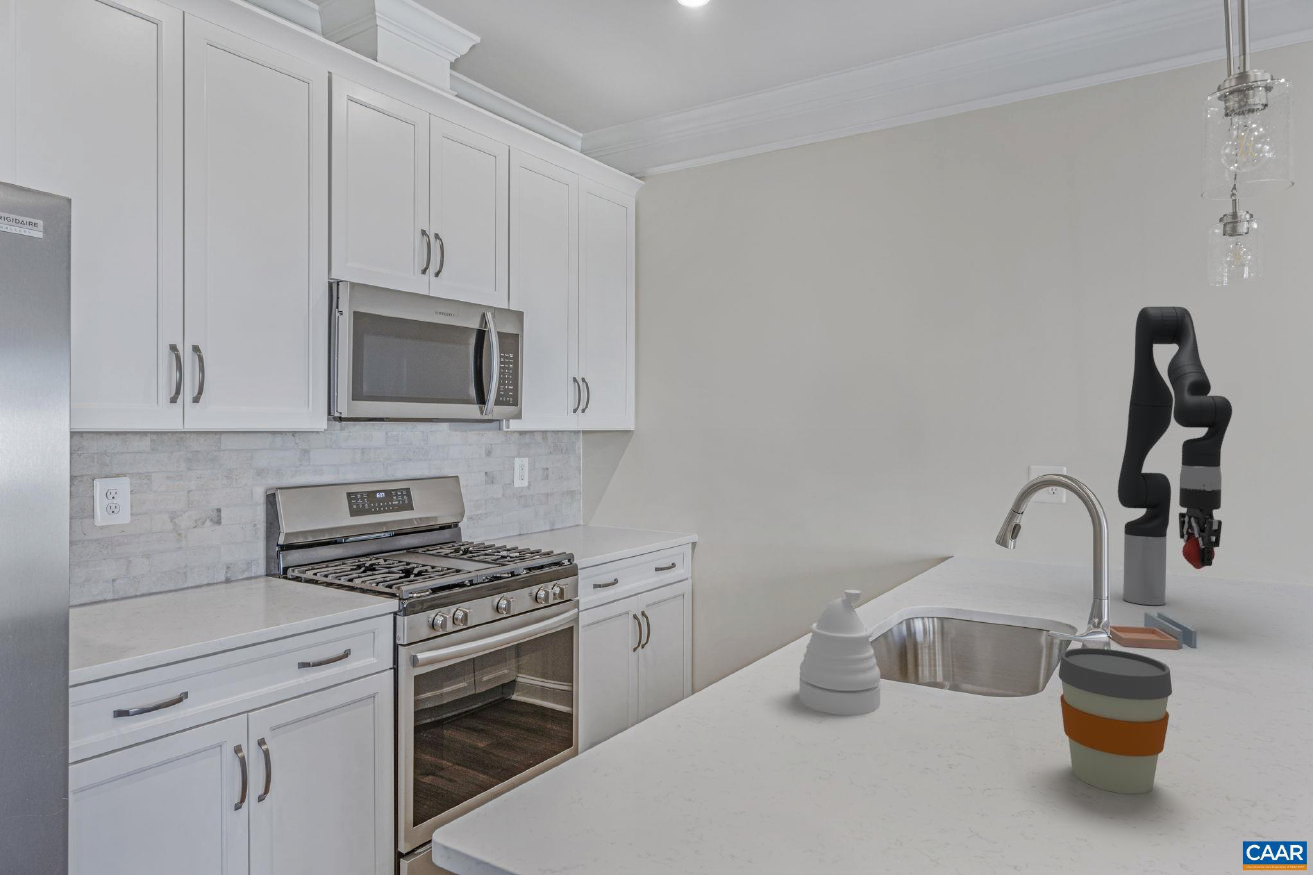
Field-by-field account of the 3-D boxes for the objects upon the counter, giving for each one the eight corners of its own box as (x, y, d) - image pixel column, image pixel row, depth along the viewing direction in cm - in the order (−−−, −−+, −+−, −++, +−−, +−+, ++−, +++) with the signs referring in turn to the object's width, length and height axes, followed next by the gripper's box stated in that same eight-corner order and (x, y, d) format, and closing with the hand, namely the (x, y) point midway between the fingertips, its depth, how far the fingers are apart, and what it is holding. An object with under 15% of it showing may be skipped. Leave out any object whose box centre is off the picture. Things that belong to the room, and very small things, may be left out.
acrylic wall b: (1144, 628, 176) (1144, 612, 176) (1148, 628, 176) (1148, 612, 176) (1178, 648, 160) (1178, 630, 160) (1182, 648, 160) (1182, 631, 160)
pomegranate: (1204, 566, 175) (1205, 531, 175) (1220, 571, 170) (1221, 535, 170) (1176, 566, 176) (1177, 530, 176) (1191, 571, 170) (1192, 534, 170)
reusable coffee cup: (1042, 776, 101) (1044, 660, 101) (1075, 748, 110) (1077, 642, 109) (1155, 811, 92) (1157, 684, 92) (1181, 778, 101) (1183, 662, 100)
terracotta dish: (1104, 633, 171) (1104, 625, 171) (1155, 636, 169) (1155, 627, 169) (1123, 646, 161) (1123, 637, 161) (1178, 649, 159) (1178, 640, 159)
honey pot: (880, 691, 133) (881, 585, 132) (880, 718, 120) (881, 601, 120) (802, 684, 136) (804, 580, 136) (795, 710, 124) (796, 596, 123)
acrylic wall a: (1156, 627, 176) (1157, 612, 176) (1160, 627, 176) (1161, 612, 176) (1192, 647, 161) (1192, 630, 161) (1196, 647, 160) (1196, 630, 160)
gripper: (1166, 483, 180) (1164, 556, 181) (1197, 489, 166) (1195, 568, 166) (1202, 484, 179) (1200, 557, 179) (1237, 490, 165) (1235, 569, 165)
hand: (1198, 562), depth 173 cm, fingers closed on pomegranate, 6 cm apart
